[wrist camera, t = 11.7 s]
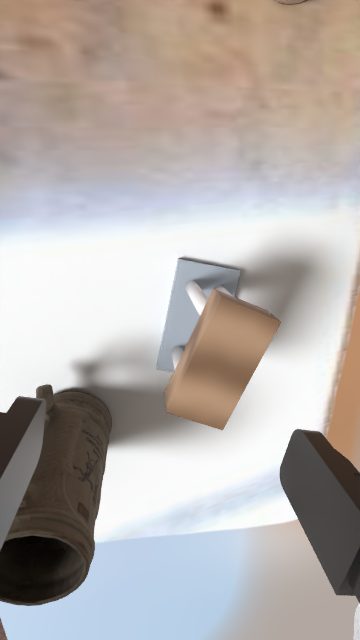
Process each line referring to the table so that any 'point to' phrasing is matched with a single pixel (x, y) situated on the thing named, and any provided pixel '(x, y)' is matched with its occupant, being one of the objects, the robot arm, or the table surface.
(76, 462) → the beer stein
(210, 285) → the peg stand
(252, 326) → the brown wooden block
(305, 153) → the table surface
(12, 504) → the robot arm
